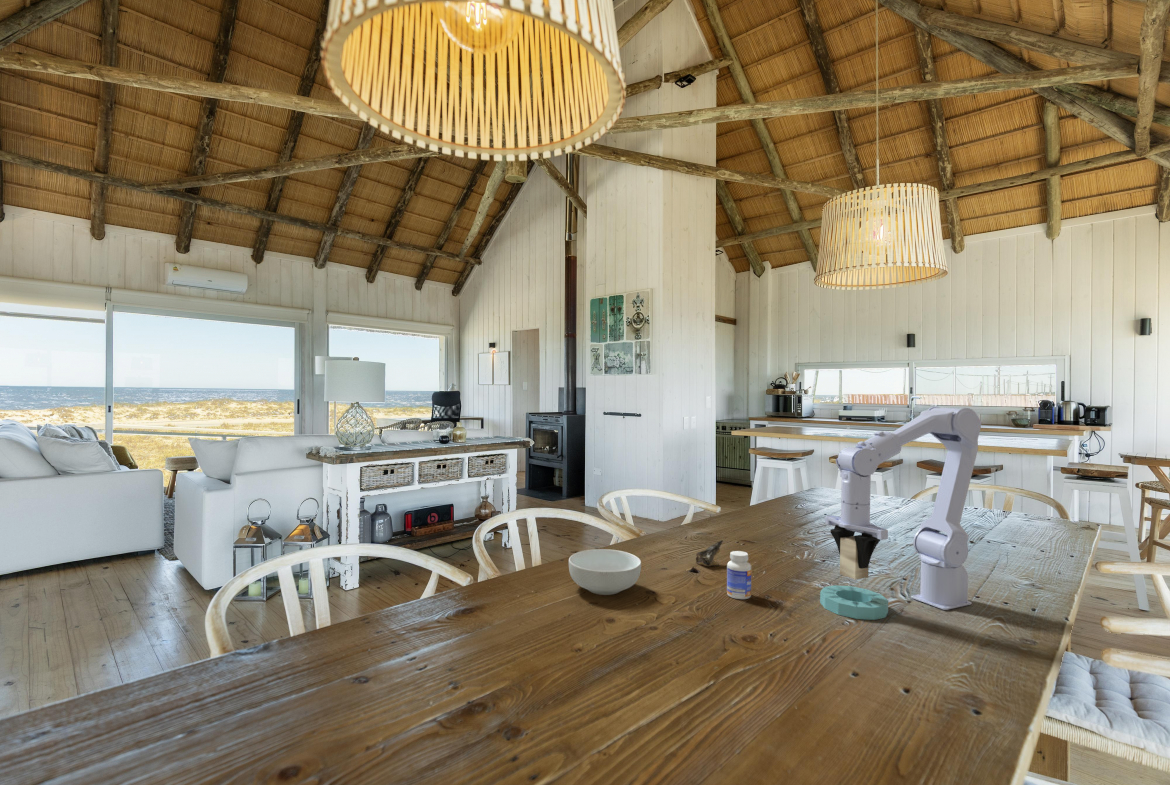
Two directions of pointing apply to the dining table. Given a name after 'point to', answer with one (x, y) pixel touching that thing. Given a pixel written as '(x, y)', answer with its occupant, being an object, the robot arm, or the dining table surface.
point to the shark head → (709, 555)
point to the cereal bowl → (604, 570)
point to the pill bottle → (739, 576)
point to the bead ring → (854, 602)
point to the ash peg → (850, 559)
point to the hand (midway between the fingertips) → (854, 564)
